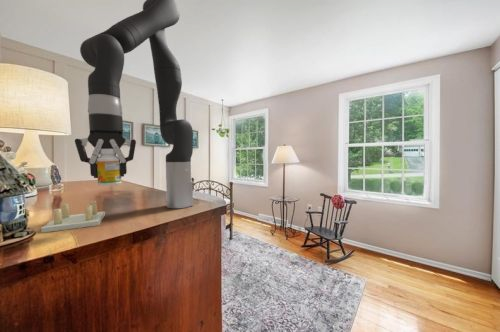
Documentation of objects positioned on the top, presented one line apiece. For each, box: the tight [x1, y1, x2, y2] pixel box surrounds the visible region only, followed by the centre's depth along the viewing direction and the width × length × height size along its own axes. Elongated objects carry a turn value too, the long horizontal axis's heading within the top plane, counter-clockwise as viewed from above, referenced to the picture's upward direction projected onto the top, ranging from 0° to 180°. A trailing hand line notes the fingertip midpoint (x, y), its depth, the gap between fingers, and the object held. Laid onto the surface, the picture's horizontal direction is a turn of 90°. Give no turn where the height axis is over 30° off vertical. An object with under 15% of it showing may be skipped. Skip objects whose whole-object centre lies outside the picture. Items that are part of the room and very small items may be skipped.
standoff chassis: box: [40, 200, 106, 233], centre depth 61 cm, size 12×12×5 cm
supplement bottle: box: [97, 149, 122, 187], centre depth 57 cm, size 5×5×10 cm
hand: (109, 176), depth 57 cm, fingers closed on supplement bottle, 5 cm apart
